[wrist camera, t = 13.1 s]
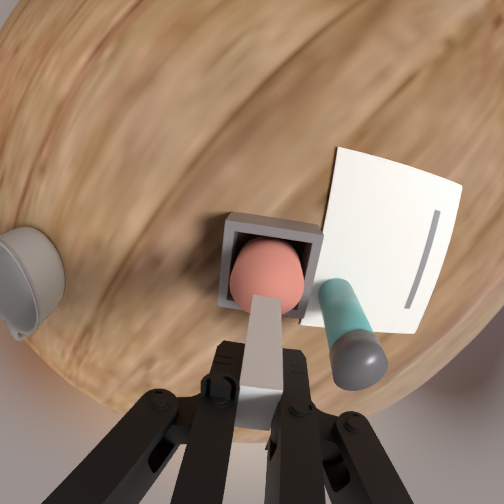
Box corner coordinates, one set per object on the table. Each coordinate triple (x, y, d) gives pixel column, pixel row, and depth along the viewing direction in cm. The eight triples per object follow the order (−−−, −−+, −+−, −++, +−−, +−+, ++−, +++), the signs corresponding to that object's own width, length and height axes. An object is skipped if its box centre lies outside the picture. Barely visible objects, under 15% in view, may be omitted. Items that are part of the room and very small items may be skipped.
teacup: (30, 201, 23) (-20, 219, 15) (88, 254, 24) (38, 288, 17) (16, 284, 27) (-19, 309, 20) (66, 332, 29) (33, 367, 21)
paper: (337, 147, 19) (338, 147, 19) (461, 185, 19) (462, 185, 19) (300, 323, 25) (300, 325, 25) (413, 332, 24) (414, 333, 24)
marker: (320, 275, 23) (341, 349, 13) (357, 278, 23) (395, 349, 13) (314, 309, 24) (327, 390, 14) (349, 311, 24) (377, 389, 14)
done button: (239, 231, 20) (233, 245, 17) (305, 240, 20) (311, 256, 17) (232, 289, 22) (226, 311, 19) (293, 298, 22) (295, 321, 19)
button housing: (231, 211, 22) (225, 220, 19) (317, 224, 22) (324, 235, 19) (223, 288, 24) (217, 306, 21) (300, 300, 24) (303, 318, 21)
